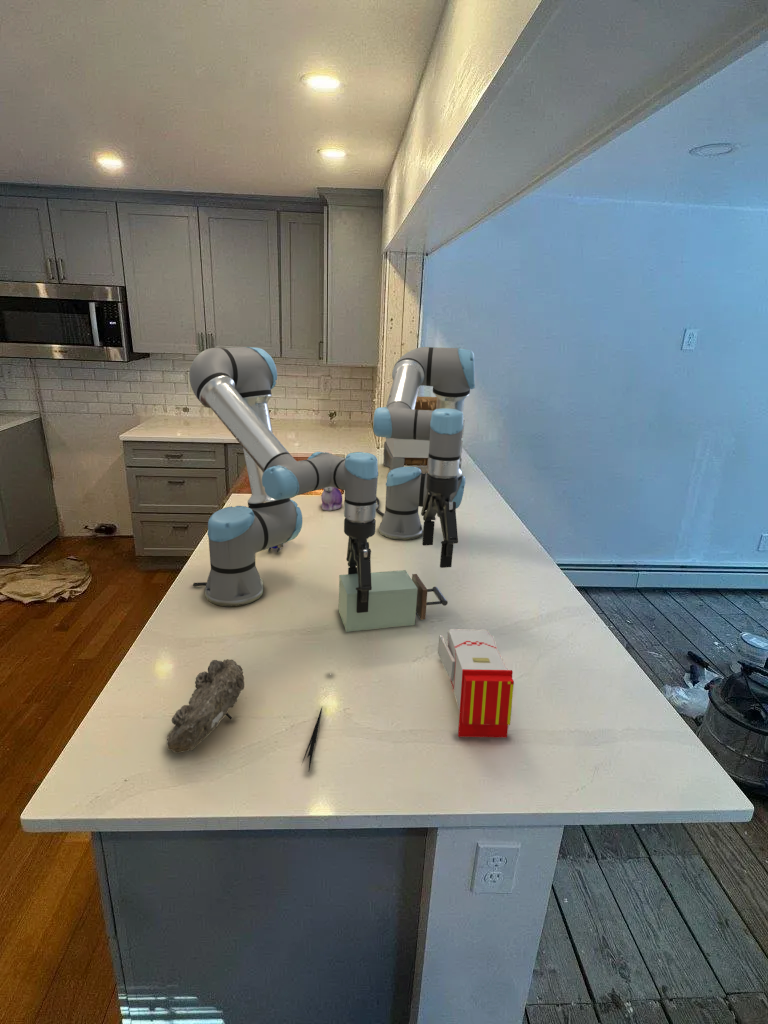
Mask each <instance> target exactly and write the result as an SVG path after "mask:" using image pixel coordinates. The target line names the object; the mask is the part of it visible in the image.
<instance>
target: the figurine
mask: <svg viewBox="0 0 768 1024" xmlns="http://www.w3.org/2000/svg"><path fill="white" fill-rule="evenodd" d="M322 490H323V491H322V493H321V497H320V498H321V504H320V505H321V506H320V507H321V510H323V511H335V510H338V509H340V508H342V505H343V495H342V492H341V491H340V490H341V489H338V488H334V487H326V488H323V489H322Z"/></svg>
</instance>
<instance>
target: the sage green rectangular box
mask: <svg viewBox="0 0 768 1024" xmlns="http://www.w3.org/2000/svg"><path fill="white" fill-rule="evenodd" d="M338 581H339V582H338V613H339V616H340V619H341V623H342V624H343V627H344V630H345V632H346V633H348V632H359V631H369V630H370V631H371V630H379V629H388V628H398V627H399V628H401V627H409V626H410V627H411V626H415V625H416V615H417V612H416V602H417V587H416V585H415V584H414V582H413V581H412V577H411V576H410V574H409V573H408V571H407V570H406V569H403V570H389V571H374V572H371V587H372V590H369V601H368V612H363V613H357V590H356V587H358V574H348V573H347V574H346V573H345V574H339V576H338Z"/></svg>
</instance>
